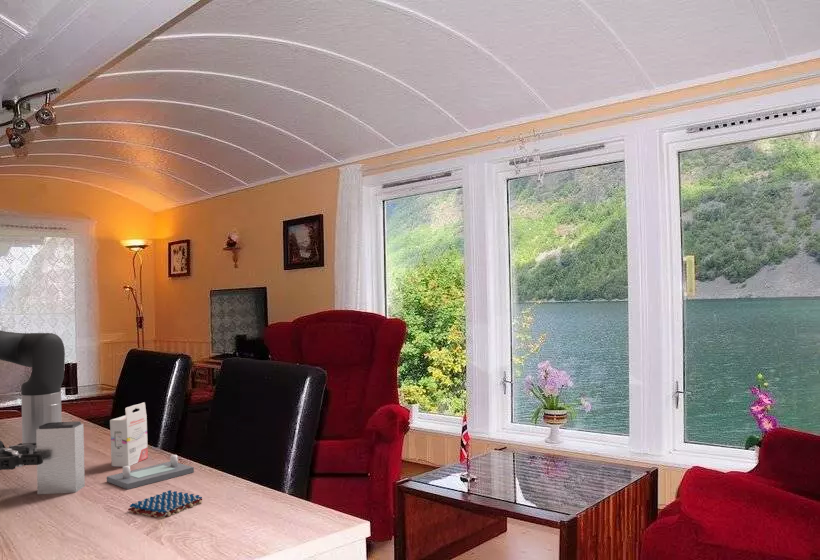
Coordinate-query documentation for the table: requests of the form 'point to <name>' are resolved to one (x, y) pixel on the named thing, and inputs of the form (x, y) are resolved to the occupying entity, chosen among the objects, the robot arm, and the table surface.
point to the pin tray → (149, 474)
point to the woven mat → (165, 504)
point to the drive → (60, 457)
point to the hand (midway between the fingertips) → (51, 453)
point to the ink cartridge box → (129, 437)
